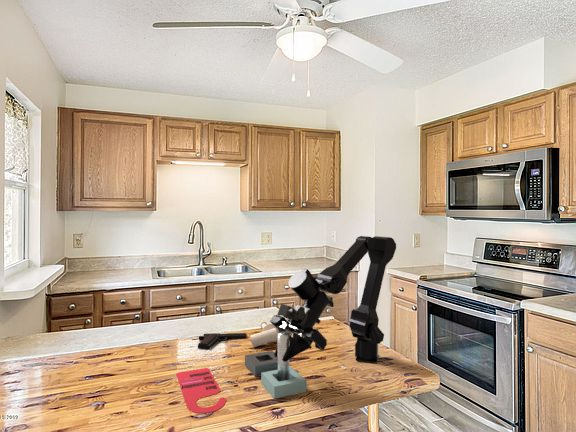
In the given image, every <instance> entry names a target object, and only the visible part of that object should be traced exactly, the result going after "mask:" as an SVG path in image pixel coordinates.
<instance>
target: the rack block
mask: <svg viewBox="0 0 576 432" xmlns="http://www.w3.org/2000/svg"><path fill="white" fill-rule="evenodd" d="M260 377H261V378H260V379H261V380H260V383H261V386H263V388H264V389H265V390H266V391H267V392H268V394H270V396H272V398H273V399H279V398H285V397H288V396H294V395H296V394H301V393H305V392H307V379H306V378H305V377H304V376H302V375H301V374H300V373H299V372H298V371H297V370H296V369H294V367H292V366H290V380H285V381H280V382H279V381H278V370H273V371H268V372H262V373H261V376H260Z"/></svg>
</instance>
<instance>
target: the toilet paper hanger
mask: <svg viewBox="0 0 576 432" xmlns="http://www.w3.org/2000/svg"><path fill="white" fill-rule="evenodd" d="M259 327H260V329H261V332H258V333H255V334H252V335H250V336H249V338H250V342H251V345H252V348H257V347H259V346H262V345H265V344H269V343H275V342H278V332H279V330H278V329H277V328H276V327H275V326H274V325H273V324H272V323H268V322H266V321H262V322H260V324H259Z"/></svg>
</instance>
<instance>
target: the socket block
mask: <svg viewBox="0 0 576 432" xmlns="http://www.w3.org/2000/svg"><path fill="white" fill-rule="evenodd" d="M274 354H275V351H274V350H269V351H263V352H262V351H261V352H256V353H249V354H244V366H245V367H246V368H247V369H248V370H249V371H250V373H251V375H253V376H254V378H256V377H261V373H262V372H268V371H273V370H278V357H277V358H276V357H275V356H274Z"/></svg>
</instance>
